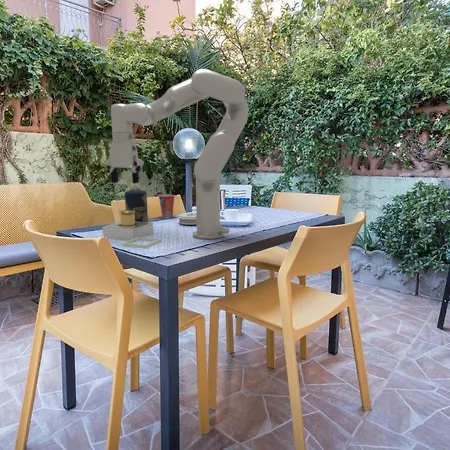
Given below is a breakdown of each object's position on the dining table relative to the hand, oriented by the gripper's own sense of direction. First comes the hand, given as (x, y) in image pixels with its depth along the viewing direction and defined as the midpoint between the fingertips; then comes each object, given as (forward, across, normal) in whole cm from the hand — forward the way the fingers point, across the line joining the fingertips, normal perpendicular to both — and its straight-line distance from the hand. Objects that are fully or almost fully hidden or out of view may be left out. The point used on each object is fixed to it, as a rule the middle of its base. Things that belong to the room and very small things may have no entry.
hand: (125, 182), depth 138 cm
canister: (+22, +6, -15) cm, 27 cm away
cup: (+22, +7, -43) cm, 49 cm away
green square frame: (+22, -13, +10) cm, 27 cm away
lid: (+22, -12, -34) cm, 42 cm away
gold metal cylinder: (+21, 0, 0) cm, 21 cm away
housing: (+22, 0, 0) cm, 22 cm away
